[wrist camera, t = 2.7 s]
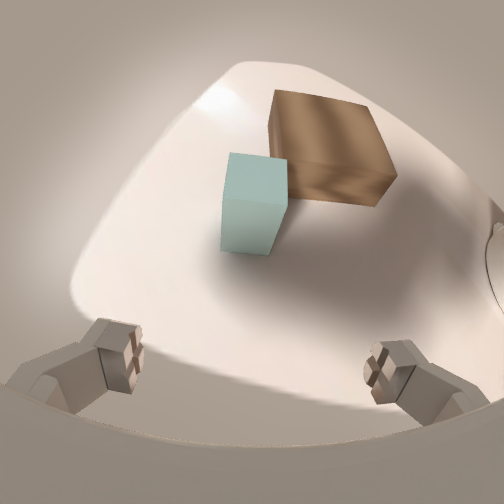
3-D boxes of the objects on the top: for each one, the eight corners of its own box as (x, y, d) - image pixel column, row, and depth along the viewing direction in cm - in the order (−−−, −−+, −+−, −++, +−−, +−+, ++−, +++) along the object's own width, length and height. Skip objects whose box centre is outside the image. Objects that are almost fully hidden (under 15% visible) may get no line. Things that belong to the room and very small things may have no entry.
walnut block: (351, 138, 36) (366, 106, 31) (373, 208, 31) (397, 175, 26) (267, 126, 35) (274, 89, 30) (272, 198, 30) (283, 158, 24)
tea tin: (270, 215, 28) (286, 159, 21) (268, 255, 26) (287, 205, 19) (225, 210, 28) (229, 152, 21) (220, 250, 26) (222, 197, 19)
